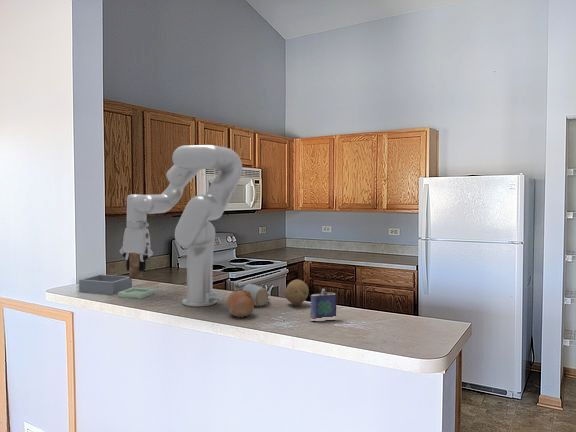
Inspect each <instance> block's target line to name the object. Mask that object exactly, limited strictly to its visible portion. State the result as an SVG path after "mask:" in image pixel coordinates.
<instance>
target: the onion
mask: <svg viewBox="0 0 576 432" xmlns="http://www.w3.org/2000/svg"><path fill="white" fill-rule="evenodd" d="M254 305H255V302H254V299H253V297H252V296H251V294H250V292H249V291H247V290H242V289H241V290H235V291H233V292H231V293H230V294H229V296H228V297H227V300H226V306H227V307H226V308H227V309H228V312H229V313H230V314H231V315H232V317H235V316H238V318H240V317H241V318H245V317H244V316H246V317H248V316H250V315H251V314H252V312H253V311H254V308H255V306H254Z"/></svg>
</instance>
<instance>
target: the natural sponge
mask: <svg viewBox="0 0 576 432" xmlns="http://www.w3.org/2000/svg"><path fill="white" fill-rule="evenodd" d="M309 291H310V289H309V286H308V285H307V283H306V282H305V281H303V280H301V279H294V280H291V281H290V282H289V283H288V284H287V285H286V287H285V291H284V296H285V299H286V300H287V301H288V302H290V303H291V304H292V305H293V304H294V306H296V305H298V306H300V305H302V304H303V303H304V302H305V301H306V300H307V298H308V296H309V294H310V293H309ZM299 304H300V305H299Z"/></svg>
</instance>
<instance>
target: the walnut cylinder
mask: <svg viewBox="0 0 576 432" xmlns="http://www.w3.org/2000/svg"><path fill="white" fill-rule="evenodd" d="M139 262H141V260H140V256H139V254H137V253H130V257H129V272H128V273H129V274H128V277H129V278H132V279H142V278H143V271H142V272H140V271H139Z"/></svg>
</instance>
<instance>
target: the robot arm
mask: <svg viewBox="0 0 576 432" xmlns="http://www.w3.org/2000/svg"><path fill="white" fill-rule="evenodd" d="M172 163H173V165H172V166H171V167H170V168H169V169H168V171H166V174H165V175H166V176H165V177H166V179H167V180H168V182H169V185H168V186H167V187H166V189H165V190H163V191H162V192H161V194H160V193H159V194H158V193H157V194H155V193H154V194H138V193H136V194H135V193H134V194H132V193H131V194H128V195H127V197H126V228H125V229H124V233H123V240H122V246H121V248H120V249H119V253H120V255H122V257H123V258H124V260H125V261H126V265H125V267H126V271H129V257H130V253H137V254H139V256H140V260H141V262H139V271H140V272H142V273H143V272H144V271H146V268H147V267H146V262H147V260H149V258H150V257H151V256H153V255H154V252H153V250H152V249H151V237H150V232H149V229H148V227H150V224H149V222H148V221H147V218H148V217H147V215H153V214H155V215H156V214H164V213H167V212H169V211H170V210H171V209H172V208H174V206H176V204H177V203H178V202H179V201H180V200H181V198H182V197H183V194H184V189H185V187H186V186H187V185H188V184H189V183H190V181H191V180H192V179H194V178H195V176H196V175H197V174H198V173H199V172H200V171H201V170H215V171H219V172H218V174H217V175H216V176H215V177H214V179H213V180H212V182H211V183H210V185H209V187H208V190H207V191H206V192H205V194H198V195H195V196H192V198H191V199H189V201H188V202H187V204H186V206H185V208H184V210H183V212H182V214H181V216H180V218H179V220H178V222H177V224H176V227H175V229H174V239H175V241H176V243H177V244H178V245H179V246H180V247H182V248H188V251H187V255H186V257H187V258H186V297H185V298H183V299H182V304H183V305H184V306H187V307H197V308H198V307H210V306H212V305H215V304H216V303H217V301H220V302H221V301H222V300H223V297H222V294H218V293H217V294H216V290H215V289H213V275H214V273H213V270H214V269H213V268H214V267H213V266H214V265H213V262H214V261H213V260H214V246H215V245H214V244H215V240H216V228H215V226H214V225H213V224H212V223H211V221H216V220H219V219H220V218H221V217H222V216H223V214H224V212H225V210H226V208H227V206H228V203H229V202H230V200H231V197H232V196H233V194H234V191H235V189H236V188H237V185H238V184H239V182H240V180H241V177H242V175H243V174H242V173H243V163H242V160H241V157H240V156H239V155H238V153H237V152H236V151H235V150H233V149H231V148H228V147H225V146H219V145H214V144H196V145H195V144H193V145H191V144H189V145H181V146H178V147H177V148H176V149H174V151H173V154H172Z"/></svg>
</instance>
